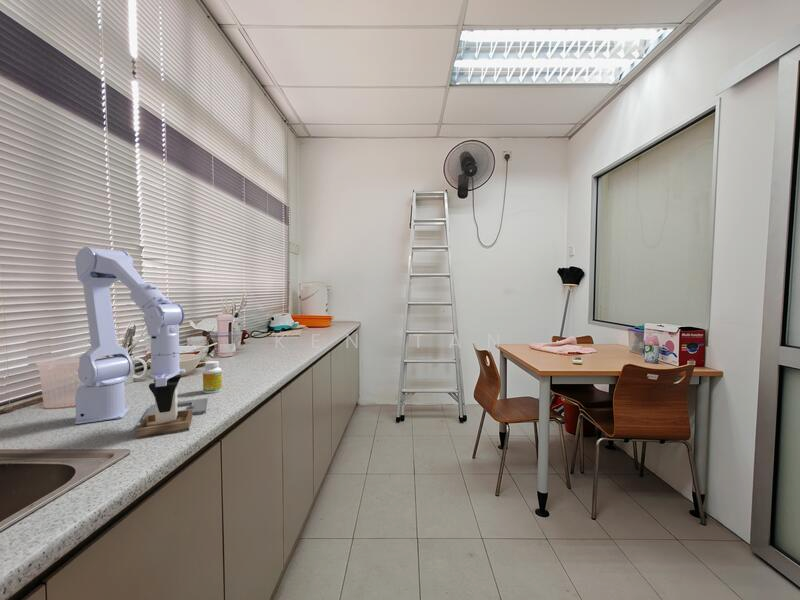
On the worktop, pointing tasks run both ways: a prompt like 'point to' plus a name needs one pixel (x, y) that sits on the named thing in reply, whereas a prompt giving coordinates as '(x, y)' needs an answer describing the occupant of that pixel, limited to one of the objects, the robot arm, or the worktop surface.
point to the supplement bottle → (212, 377)
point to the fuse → (167, 415)
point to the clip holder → (196, 405)
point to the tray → (164, 424)
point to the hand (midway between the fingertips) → (166, 408)
